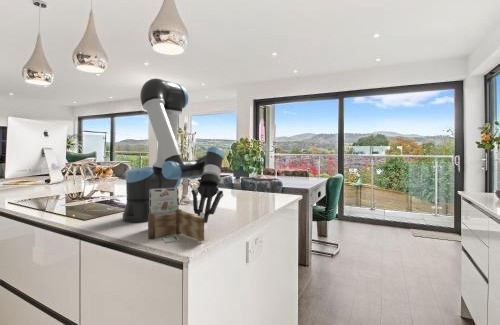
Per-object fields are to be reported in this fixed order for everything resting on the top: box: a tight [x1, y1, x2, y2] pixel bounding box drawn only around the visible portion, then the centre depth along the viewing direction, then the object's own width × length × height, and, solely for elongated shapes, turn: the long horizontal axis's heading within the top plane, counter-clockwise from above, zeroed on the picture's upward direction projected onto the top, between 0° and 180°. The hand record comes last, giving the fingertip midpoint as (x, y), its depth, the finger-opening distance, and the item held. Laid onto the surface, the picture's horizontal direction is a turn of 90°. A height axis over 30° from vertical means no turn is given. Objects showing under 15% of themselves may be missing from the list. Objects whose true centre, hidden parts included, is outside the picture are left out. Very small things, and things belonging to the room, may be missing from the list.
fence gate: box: [178, 210, 206, 242], centre depth 101 cm, size 14×2×8 cm, turn 45°
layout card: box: [161, 234, 181, 244], centre depth 100 cm, size 6×5×1 cm
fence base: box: [147, 208, 183, 241], centre depth 104 cm, size 13×2×9 cm, turn 129°
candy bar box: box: [149, 187, 180, 216], centre depth 113 cm, size 11×5×16 cm, turn 114°
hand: (200, 230), depth 101 cm, fingers closed
